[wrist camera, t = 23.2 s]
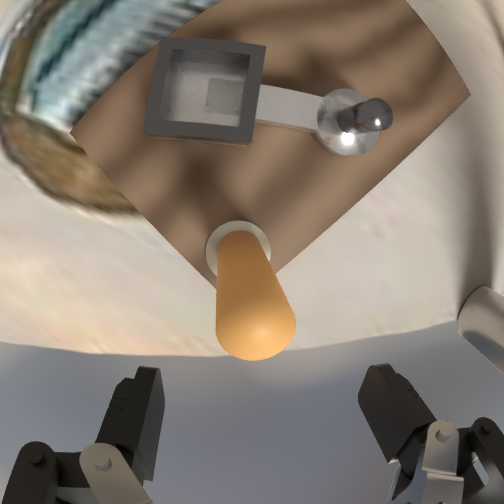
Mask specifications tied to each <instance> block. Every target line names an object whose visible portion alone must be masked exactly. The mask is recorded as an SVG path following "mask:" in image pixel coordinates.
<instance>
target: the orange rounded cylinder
mask: <svg viewBox="0 0 504 504" xmlns="http://www.w3.org/2000/svg"><path fill="white" fill-rule="evenodd" d="M295 327H296V321H295V316H294V313H293V311H292V309H291V307H290V305H289V303H288V301H287V298H286V296H285V294H284V292H283V290H282V288H281V286H280V284H279V282H278V279H277V277H276V275H275V273H274V271H273V269H272V267H271V265H270V263H269V260H268V258H267V256H266V254H265V252H264V250H263V248H262V246H261V244H260V242H259V240H258V238H257V237H256V236H255V235H254V234H252V233H251V232H249V231H245V230H235V231H232V232H229V233H228V234H226V235H225V236H224V237H223V238H222V239H221V241H220V243H219V246H218V259H217V292H216V336H217V339H218V341H219V343H220V345H221V346H222V347H223V348H224V349H225V350H226V351H227V352H228V353H229V354H231V355H233V356H235V357H237V358H240V359H245V360H261V359H266V358H269V357H271V356H274V355H276V354H277V353H279V352H280V351H282V350H283V349H284V348H285V347H286V346H287V345H288V344H289V343H290V341H291V339H292V337H293V335H294V332H295Z"/></svg>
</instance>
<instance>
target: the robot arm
mask: <svg viewBox="0 0 504 504" xmlns="http://www.w3.org/2000/svg"><path fill="white" fill-rule="evenodd" d="M457 330H458V333H459V334H460V335H461V336H462V337H463V338H464V339H466V340H467V341H468V342H469V343H470V344H471V345H472V346H474V347H475V348H476V349H477V350H478V351H479V352H480V353H481V354H482V355H483V356H485V357H486V358H487V359H488V360H489V361H490V362H491V363H492V364H493V365H494V366H495V367H497V368H498V369H499V370H500V371H501V372H502V373H503V374H504V297H503V296H502V295H500V294H499V293H497V292H495V291H494V290H492V289H491V288H489V287H487V286H481V287H479V288H478V289H476V290H475V291H474V292H473V293H472V294H471V295H470V296H469V298H468V299H467V301H466V302H465V304H464V306H463V308H462V310H461V312H460V315H459V318H458V322H457ZM358 403H359V406H360V408H361V410H362V412H363V414H364V416H365V418H366V420H367V422H368V424H369V426H370V428H371V430H372V432H373V434H374V436H375V438H376V440H377V442H378V444H379V446H380V448H381V450H382V452H383V454H384V456H385V458H386V460H387V463H388V464H389V463H392V462H395V461H398V460H399V462H400V465H399V467H398V468H397V471H396V475H395V478H394V481H393V484H392V487H391V490H390V493H389V496H388V499H387V502H386V504H504V435H503V433H502V432H501V430H500V429H499V428H498V426H497V425H496V424H495V422H494V421H492V420H491V419H489V418H485V417H482V418H478V419H477V420H476V421H475V422H474V423H473V425H472V426H471V427H469V428H459V429H456V428H455V426H454V425H453V424H451V423H449V422H447V421H437V420H436V418H435V417H434V415H433V414H432V413H431V411H430V410H429V409H428V407H427V406H426V404H425V403H424V401H423V400H422V399H421V397H419V394H418V393H417V392H416V390H414V388H413V386H412V385H411V384H410V382H409V381H408V380H407V379H406V378H404V377H403V376H401V375H400V374H399V373H397V374H396V372H395V371H394V370H393V368H392V367H391V365H389V364H388V363H385V364H378V365H372V366H370V367H369V368H368V370H367V373H366V376H365V378H364V381H363V383H362V386H361V388H360V390H359V393H358ZM164 409H165V397H164V390H163V384H162V378H161V371H160V369H159V368H153V367H144V366H139V367H138V370H137V373H136V375H135V378H134V379H131V378H124V379H123V380H122V381H121V382H120V383H119V384H118V385H117V386H116V388H115V391H114V393H113V396H112V399H111V401H110V404H109V408H108V409H107V412H106V414H105V417H104V420H103V423H102V425H101V428H100V431H99V434H98V437H97V439H96V441H95V443H94V444H91V445H89V446H87V447H86V448H85V449H84V450H83V451H82V452H77V453H66V452H54V451H53V450H52V449H51V448H50V447H49V446H48V445H47V444H45V443H43V442H38V441H35V442H30V443H27V444H26V445H24V446H23V447H22V448H21V450H20V452H19V454H18V457H17V459H16V462H15V465H14V467H13V470H12V473H11V476H10V478H9V481H8V484H7V487H6V490H5V494H4V497H3V500H2V504H154V502H153V501H152V500H151V498H150V497H149V496H148V494H147V493H146V491H145V490H144V489H143V482H144V480H149V481H153V476H154V469H155V462H156V456H157V450H158V443H159V438H160V432H161V426H162V421H163V415H164ZM477 459H479V460H480V462H481V464H482V465H483V467H484V469H485V470H486V472H487V474H488V476H489V480H488V483H487V485H486V486H485V485H484V484H483V482H482V481H481V479H480V477H479V475H478V473H477V472H476V470H475V468H474V466H473V464H474V463H475V462H476V460H477Z"/></svg>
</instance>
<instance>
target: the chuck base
mask: <svg viewBox="0 0 504 504" xmlns="http://www.w3.org/2000/svg"><path fill="white" fill-rule="evenodd" d="M168 37H176V38H203V39H216V40H227V41H236V42H244V43H251V44H257V45H264V46H266V53H265V59H264V65H263V72H262V78H261V84H262V85H268V86H274V87H279V88H284V89H289V90H294V91H299V92H303V93H307V94H312V95H316V96H320V97H323V96H325V95H327V94H328V93H330V92H332V91H334V90H337V89H351V90H354V91H357V92H359V93H361V94H362V95H364V96H365V97H366V98H367V99H368V100H369V99H372V98H380V99H383V100H384V101H386V102H387V103H388V104H389V106H390V107H391V109H392V112H393V122H392V125H391V126H390V127H389V128H388V129H386V130H382V131H379V135H378V138H377V140H376V142H375V144H374V145H373V147H372V148H371V149H369V150H368V151H367V152H365V153H363V154H359V155H344V156H343V155H335V154H332V153H330V152H328V151H326V150H324V149H323V148H322V147H321V146H320V145H319V144H318V143H317V142H316V140H315V139H314V137H313V135H312V133H309V132H304V131H299V130H294V129H289V128H284V127H278V126H272V125H266V124H260V123H255V124H254V131H253V138H252V143H251V144H250V145H248V146H247V147H239V146H232V145H223V144H214V143H204V142H193V141H181V140H166V139H157V138H154V137H151V136H148V135H146V134H143V126H144V120H145V113H146V107H147V102H148V96H149V91H150V86H151V81H152V76H153V71H154V67H155V62H156V58H157V54H158V50H159V46H160V43H159V44H158V45H156V46H155V47H154V48H153V49H151V50H150V51H149V52H148V53H147V54H145V55H144V56H143V57H142V58H141V59H140V60H138V61H137V62H136V63H135V64H134V65H133V66H132V67H131V68H130V69H128V70H127V71H126V72H125V73H124V74H123V75H122V76H121V77H120V78H119V79H118V80H117V81H116V82H115V83H114V84H113V85H112V86H111V87H110V88H109V89H108V90H107V91H106V92H105V93H104V94H103V95H102V96H101V97H100V98H99V99H98V100H97V101H96V102H95V103H94V105H93V106H92V107H91V108H90V109H89V110H88V111H87V112H86V114H85V115H84V116H83V117H82V118H81V119H80V121H79V122H78V123H77V124H76V125H75V127H74V128H73V129H72V130H71V131H70V134H71V135H72V136H73V138H74V139H75V140H76V141H77V142H78V144H79V145H80V146H81V147H82V148H83V149H84V151H85V152H86V153H87V154H88V155H89V156H90V157H91V159H92V160H93V161H94V162H95V163H96V164H97V165H98V167H99V168H100V169H101V170H102V171H103V172H104V173H105V175H106V176H107V177H108V178H109V179H110V180H111V181H112V182H113V183H114V185H115V186H116V187H117V188H118V189H119V190H120V191H121V192H122V193H123V194H124V195H125V197H126V198H127V199H128V200H129V201H130V202H131V203H132V204H133V205H134V206H135V207H136V208H137V209H138V211H139V212H140V213H141V214H142V215H143V216H144V217H145V218H146V219H147V220H148V221H149V222H150V223H151V224H152V225H153V226H154V227H155V228H156V229H157V230H158V231H159V233H160V234H161V235H162V236H163V237H164V238H165V239H166V240H167V241H168V242H169V243H170V244H171V245H172V246H173V247H174V248H175V249H176V250H177V251H178V252H179V253H180V254H181V255H182V256H183V257H184V258H185V259H186V260H187V261H188V262H189V263H190V264H191V265H192V266H193V267H194V268H195V269H196V270H197V271H198V272H199V273H200V274H201V275H202V276H203V277H204V278H205V279H206V280H208V281H209V282H210V283H211V284H212V285H213V286H214V287H215V288H216V289H217V259H218V246H219V243H220V241H221V239H222V238H223V237H224V236H225V235H226V234H228V233H229V232H232V231H235V230H245V231H249V232H251V233H252V234H254V235H255V236H256V237H257V238H258V240H259V242H260V244H261V246H262V248H263V250H264V252H265V254H266V256H267V258H268V260H269V263H270V265H271V267H272V269H273V271H274V273H275V274H276V273H277V272H278V271H279V270H280V269H282V268H283V267H284V266H285V265H286V264H287V263H289V262H290V261H291V260H292V259H293V258H294V257H296V256H297V255H298V254H299V253H300V252H301V251H303V250H304V249H305V248H306V247H307V246H308V245H310V244H311V243H312V242H313V241H314V240H315V239H317V238H318V237H319V236H320V235H321V234H322V233H323V232H325V231H326V230H327V229H328V228H329V227H330V226H331V225H332V224H334V223H335V222H336V221H337V220H338V219H339V218H340V217H342V216H343V215H344V214H345V213H346V212H347V211H348V210H349V209H351V208H352V207H353V206H354V205H355V204H356V203H357V202H358V201H359V200H361V199H362V198H363V197H364V196H365V195H366V194H367V193H368V192H369V191H370V190H372V189H373V188H374V187H375V186H376V185H377V184H378V183H379V182H380V181H381V180H383V179H384V178H385V177H386V176H387V175H388V174H389V173H390V172H391V171H392V170H393V169H394V168H395V167H397V166H398V165H399V164H400V163H401V162H402V161H403V160H404V159H405V158H406V157H407V156H408V155H409V154H410V153H411V152H413V151H414V150H415V149H416V148H417V147H418V146H419V145H420V144H421V143H422V142H423V141H424V140H425V139H426V138H427V137H428V136H429V135H430V134H431V133H432V132H433V131H434V130H435V129H437V128H438V127H439V126H440V125H441V124H442V123H443V122H444V121H445V120H446V119H447V118H448V117H449V116H450V115H451V114H452V113H453V112H454V111H455V110H456V109H457V108H458V107H459V106H460V105H461V104H462V103H463V102H464V101H465V100H466V99H467V98H468V97H469V96H470V95H471V94H470V92H469V91H468V89H467V87H466V85H465V83H464V82H463V80H462V78H461V76H460V75H459V73H458V71H457V70H456V68H455V66H454V65H453V63H452V61H451V60H450V58H449V57H448V55H447V54H446V52H445V51H444V49H443V48H442V46H441V45H440V43H439V42H438V41H437V39H436V38H435V36H434V35H433V34H432V32H431V31H430V30H429V28H428V27H427V26H426V24H425V23H424V22H423V21H422V19H421V18H420V17H419V16H418V14H417V13H416V12H415V11H414V10H413V8H412V7H411V6H410V5H409V4H408V3H407V1H406V0H222V1H220V2H218V3H217V4H215V5H213V6H212V7H210V8H208V9H207V10H205V11H204V12H202V13H201V14H199V15H198V16H196V17H195V18H193V19H192V20H190V21H189V22H187V23H186V24H184V25H183V26H181V27H180V28H179V29H177V30H176V31H175V32H173V33H172V34H171V35H169V36H168Z"/></svg>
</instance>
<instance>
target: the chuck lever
mask: <svg viewBox="0 0 504 504" xmlns="http://www.w3.org/2000/svg"><path fill="white" fill-rule="evenodd" d="M265 53H266V46H264V45H257V44H251V43H244V42H236V41H227V40H216V39H203V38H176V37H162V38H161V42H160V46H159V50H158V54H157V58H156V62H155V67H154V71H153V76H152V81H151V86H150V91H149V96H148V102H147V107H146V113H145V120H144V126H143V134H146V135H148V136H151V137H154V138H157V139H166V140H181V141H193V142H204V143H214V144H223V145H232V146H239V147H247V146H248V145H250V144H251V143H252V138H253V131H254V124H255V123H260V124H266V125H272V126H278V127H284V128H289V129H294V130H299V131H304V132H309V133H312V135H313V137H314V139H315V140H316V142H317V143H318V144H319V145H320V146H321V147H322V148H323V149H324V150H326V151H328V152H330V153H332V154H335V155H343V156H344V155H359V154H363V153H365V152H367V151H368V150H369V149H371V148H372V147H373V145H374V144H375V142H376V140H377V138H378V135H379V131H382V130H386V129H388V128H389V127H390V126H391V125H392V122H393V112H392V109H391V107H390V106H389V104H388V103H387V102H386V101H384V100H383V99H380V98H372V99H369V100H368V99H367V98H366V97H365V96H364V95H362V94H361V93H359V92H357V91H354V90H351V89H337V90H334V91H332V92H330V93H328V94H327V95H325V96H323V97H320V96H316V95H312V94H307V93H303V92H299V91H294V90H289V89H284V88H279V87H274V86H268V85H262V84H261V78H262V72H263V65H264V59H265Z"/></svg>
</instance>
